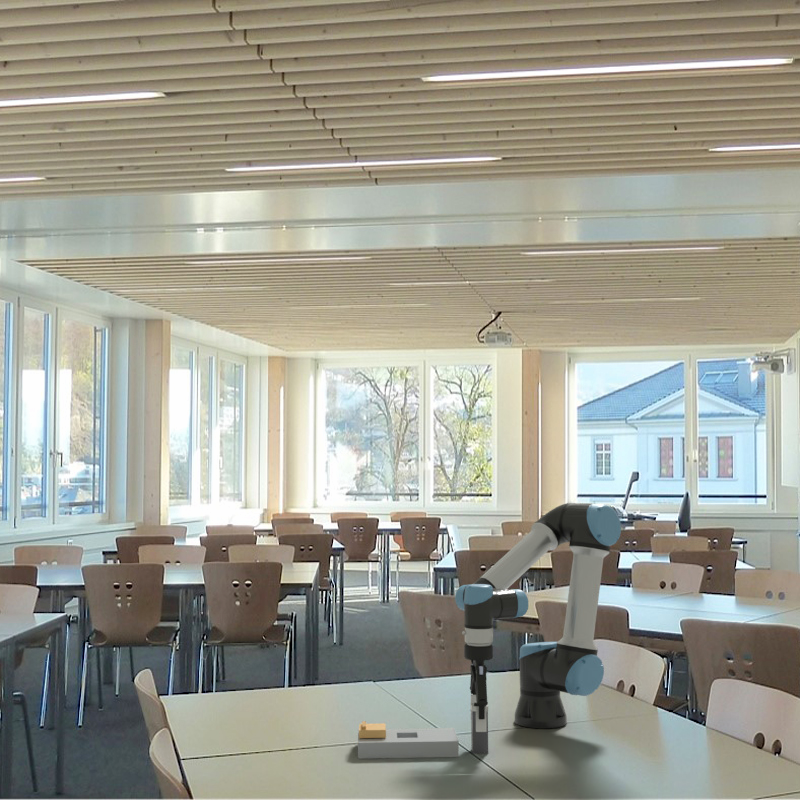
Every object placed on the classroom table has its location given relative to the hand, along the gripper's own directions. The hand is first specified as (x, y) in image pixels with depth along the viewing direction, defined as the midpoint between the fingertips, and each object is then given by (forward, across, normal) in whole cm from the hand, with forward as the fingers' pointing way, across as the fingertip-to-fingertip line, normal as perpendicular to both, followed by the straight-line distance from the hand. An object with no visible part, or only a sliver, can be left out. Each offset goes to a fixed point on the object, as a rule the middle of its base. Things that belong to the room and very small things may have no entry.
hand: (478, 725), depth 285 cm
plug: (+7, 0, 0) cm, 7 cm away
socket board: (+7, -2, -19) cm, 20 cm away
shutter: (+3, -2, -28) cm, 28 cm away
